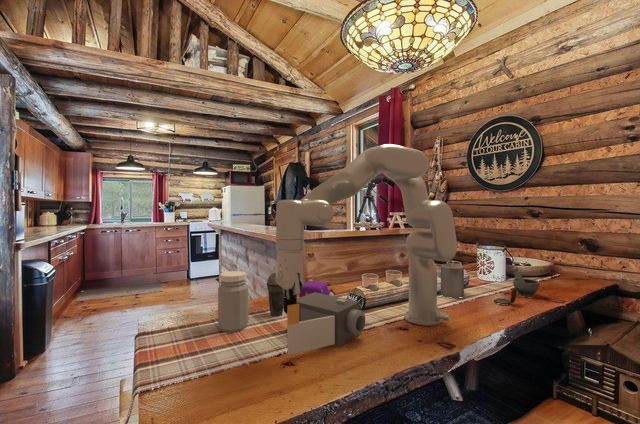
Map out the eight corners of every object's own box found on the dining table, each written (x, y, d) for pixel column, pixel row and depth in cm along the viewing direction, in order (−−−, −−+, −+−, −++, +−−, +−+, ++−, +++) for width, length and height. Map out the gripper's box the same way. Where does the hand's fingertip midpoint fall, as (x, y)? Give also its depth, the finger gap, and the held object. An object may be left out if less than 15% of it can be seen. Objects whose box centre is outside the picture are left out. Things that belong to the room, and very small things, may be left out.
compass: (495, 300, 130) (495, 283, 130) (517, 304, 125) (517, 286, 125) (490, 304, 124) (491, 287, 124) (513, 309, 119) (513, 290, 119)
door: (333, 343, 86) (333, 297, 86) (334, 344, 86) (334, 298, 85) (287, 354, 80) (287, 305, 80) (288, 355, 79) (288, 306, 79)
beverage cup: (267, 311, 116) (267, 259, 115) (286, 310, 116) (286, 259, 116) (265, 318, 108) (265, 262, 108) (286, 317, 109) (286, 262, 109)
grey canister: (446, 291, 143) (446, 260, 143) (467, 295, 136) (467, 262, 136) (436, 295, 137) (436, 262, 136) (458, 300, 129) (458, 265, 129)
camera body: (369, 336, 93) (369, 301, 93) (348, 350, 84) (348, 312, 84) (314, 320, 106) (314, 289, 106) (291, 331, 97) (291, 298, 97)
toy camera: (332, 312, 114) (332, 286, 114) (297, 310, 117) (297, 284, 117) (336, 304, 125) (336, 279, 125) (304, 301, 127) (304, 278, 127)
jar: (211, 330, 98) (211, 275, 97) (230, 319, 107) (230, 269, 107) (237, 334, 94) (236, 277, 94) (254, 323, 103) (253, 271, 103)
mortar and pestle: (543, 297, 134) (544, 270, 133) (531, 300, 129) (532, 272, 129) (517, 291, 144) (517, 266, 143) (505, 293, 139) (505, 268, 139)
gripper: (268, 243, 87) (268, 306, 87) (287, 249, 74) (287, 324, 74) (292, 241, 90) (292, 302, 91) (314, 247, 77) (314, 318, 77)
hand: (290, 312), depth 82 cm, fingers closed
